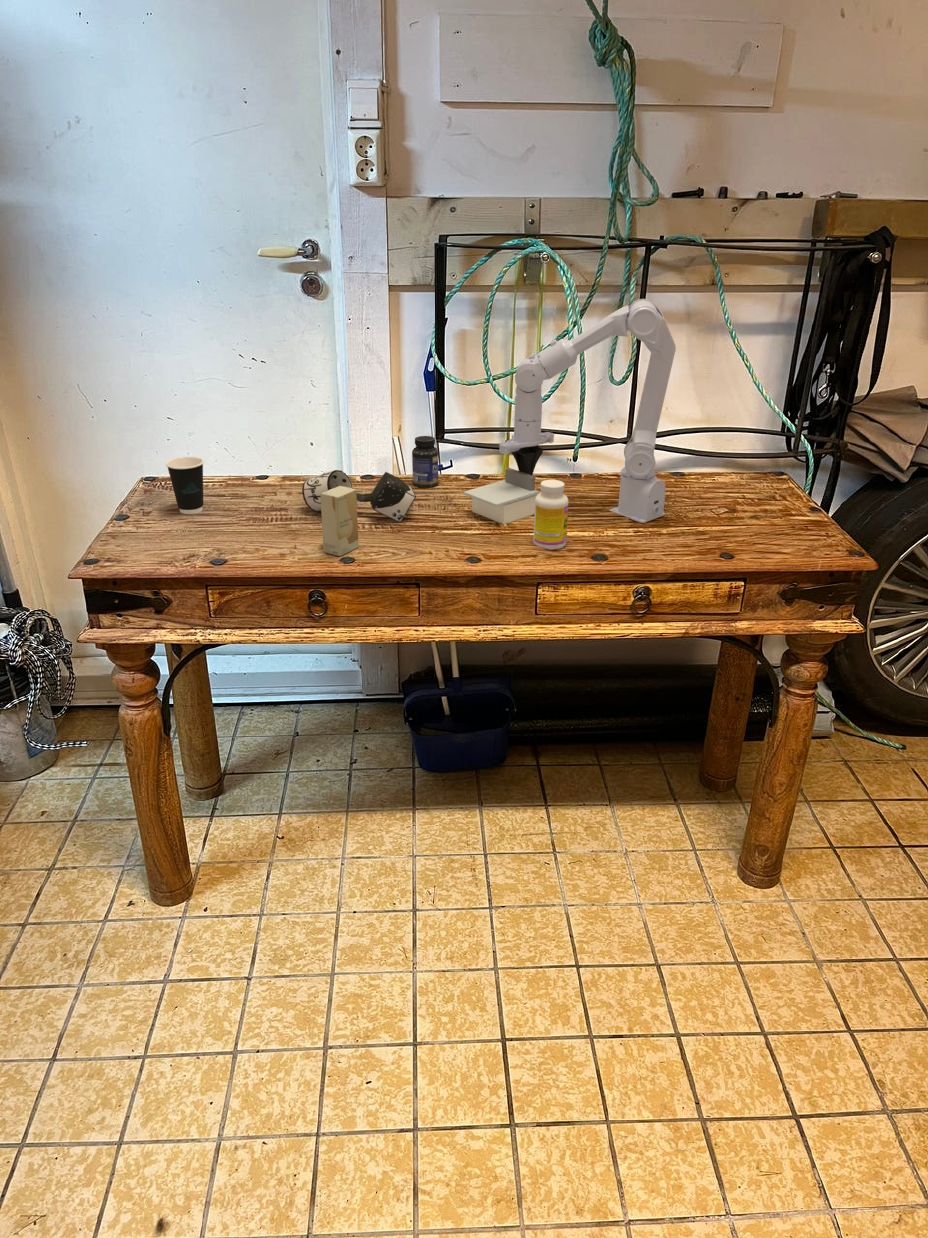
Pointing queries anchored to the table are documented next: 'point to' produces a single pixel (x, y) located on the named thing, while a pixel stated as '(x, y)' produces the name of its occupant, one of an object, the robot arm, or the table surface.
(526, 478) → the lid
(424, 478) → the pill bottle
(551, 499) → the supplement bottle
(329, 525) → the skincare box
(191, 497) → the dixie cup
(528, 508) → the box
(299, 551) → the table surface
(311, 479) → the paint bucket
